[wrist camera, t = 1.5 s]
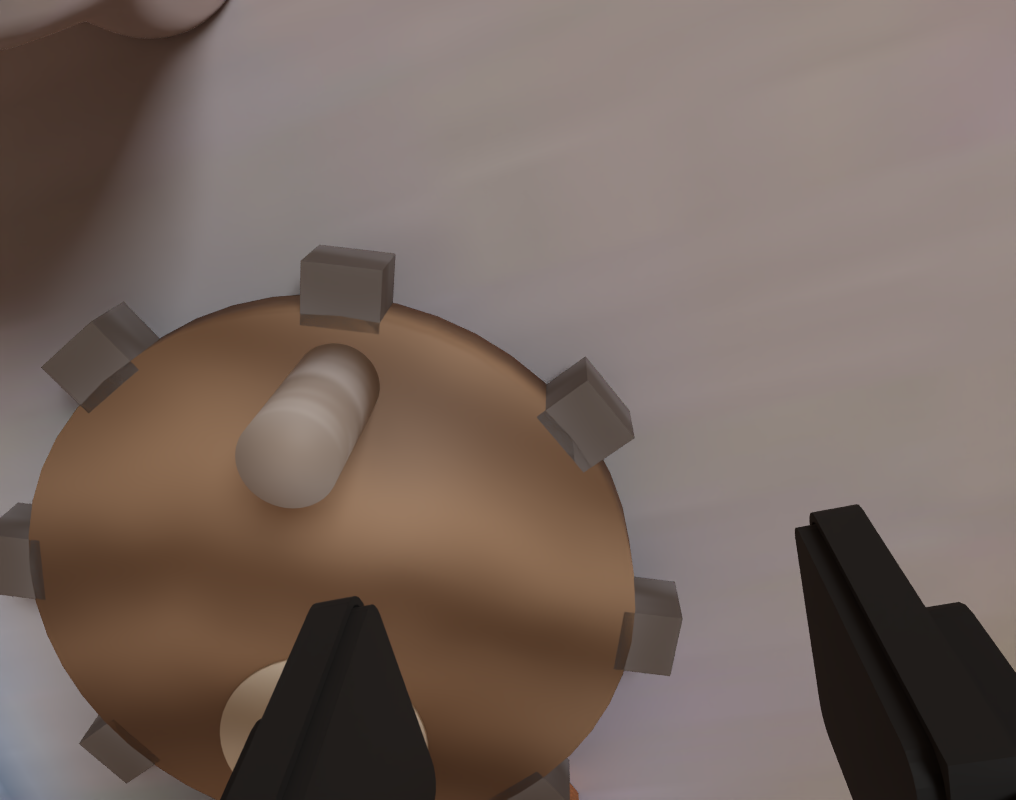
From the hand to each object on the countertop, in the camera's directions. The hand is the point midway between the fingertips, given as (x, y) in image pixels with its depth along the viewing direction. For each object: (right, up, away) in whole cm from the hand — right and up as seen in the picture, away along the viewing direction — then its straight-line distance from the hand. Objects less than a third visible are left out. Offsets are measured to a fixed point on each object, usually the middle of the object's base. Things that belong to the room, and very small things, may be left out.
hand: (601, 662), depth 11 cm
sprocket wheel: (-7, -2, +19) cm, 20 cm away
